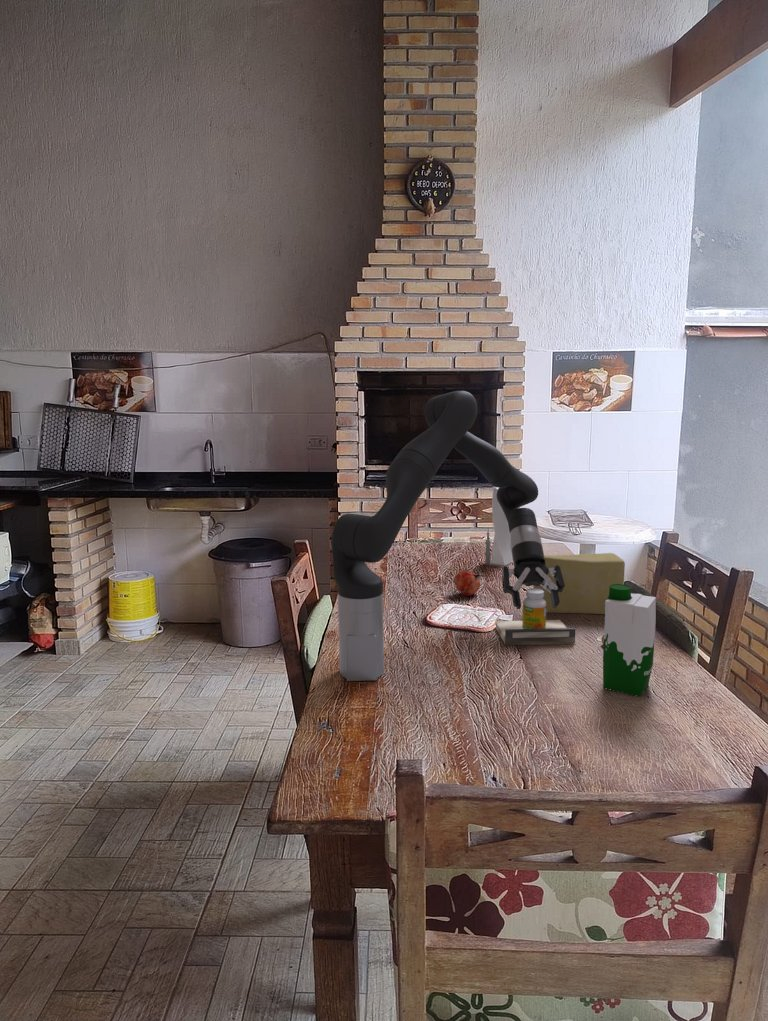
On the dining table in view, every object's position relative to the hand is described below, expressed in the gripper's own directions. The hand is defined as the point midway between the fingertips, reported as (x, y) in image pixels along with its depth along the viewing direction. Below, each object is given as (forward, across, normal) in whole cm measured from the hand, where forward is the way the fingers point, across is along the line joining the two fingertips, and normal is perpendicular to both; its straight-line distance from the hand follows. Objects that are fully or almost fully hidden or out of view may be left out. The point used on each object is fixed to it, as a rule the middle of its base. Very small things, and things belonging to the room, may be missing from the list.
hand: (537, 607), depth 161 cm
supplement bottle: (+3, 0, +6) cm, 7 cm away
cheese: (-8, +15, +19) cm, 26 cm away
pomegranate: (-19, -11, +31) cm, 38 cm away
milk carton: (+24, +11, -13) cm, 30 cm away
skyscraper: (-43, +6, +55) cm, 70 cm away
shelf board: (+4, 0, +7) cm, 8 cm away
